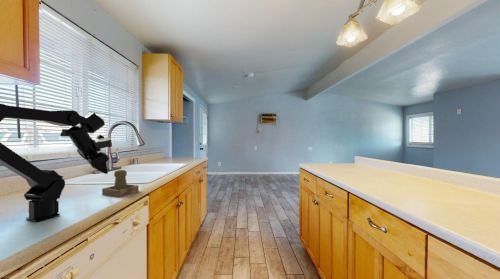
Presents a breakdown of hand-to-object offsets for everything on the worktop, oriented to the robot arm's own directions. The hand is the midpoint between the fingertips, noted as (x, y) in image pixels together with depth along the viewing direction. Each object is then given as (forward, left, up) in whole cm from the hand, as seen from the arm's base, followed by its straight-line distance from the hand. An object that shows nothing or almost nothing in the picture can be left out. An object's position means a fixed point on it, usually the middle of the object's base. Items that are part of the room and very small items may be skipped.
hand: (103, 169), depth 94 cm
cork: (+10, +2, -13) cm, 16 cm away
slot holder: (+10, +2, -13) cm, 16 cm away
